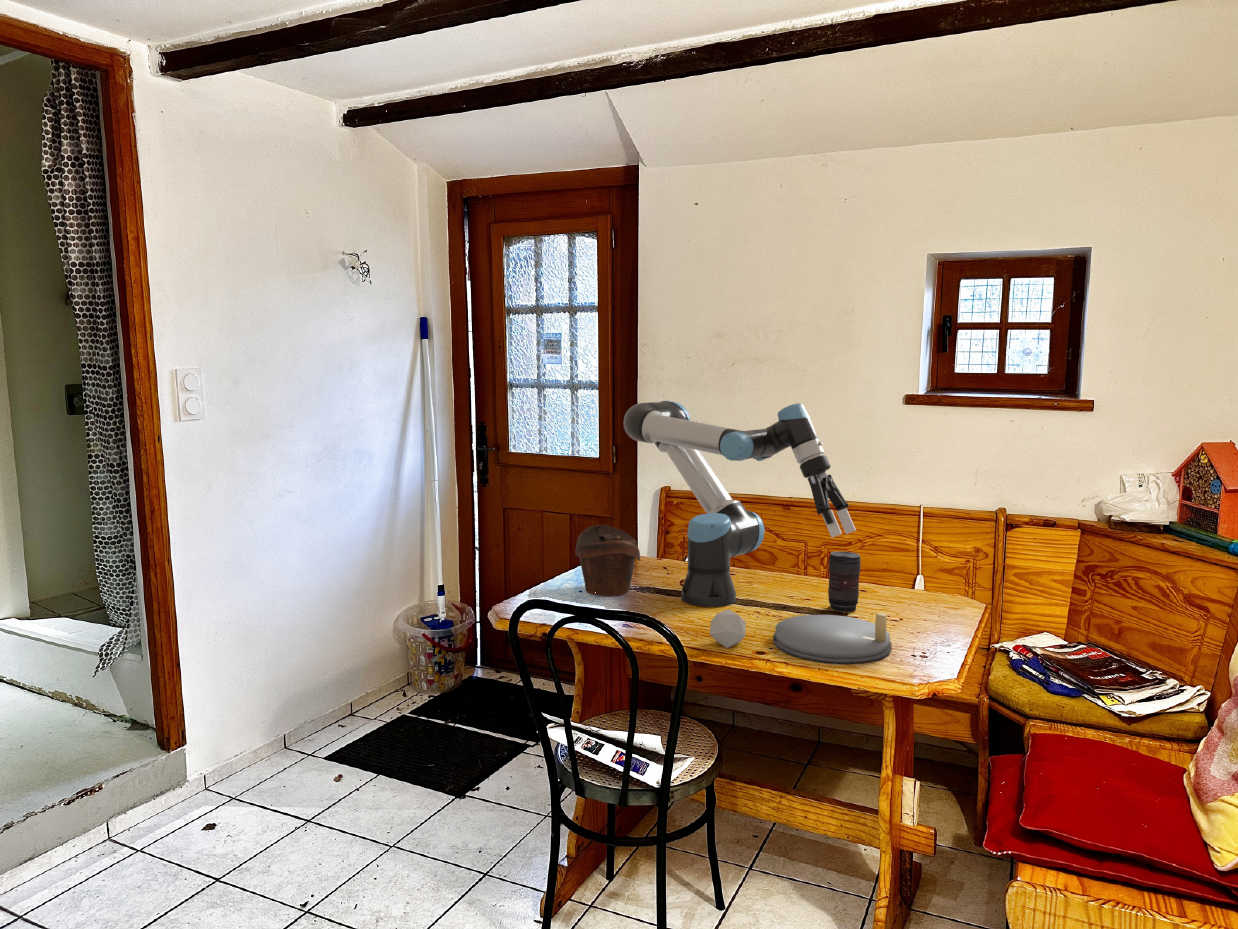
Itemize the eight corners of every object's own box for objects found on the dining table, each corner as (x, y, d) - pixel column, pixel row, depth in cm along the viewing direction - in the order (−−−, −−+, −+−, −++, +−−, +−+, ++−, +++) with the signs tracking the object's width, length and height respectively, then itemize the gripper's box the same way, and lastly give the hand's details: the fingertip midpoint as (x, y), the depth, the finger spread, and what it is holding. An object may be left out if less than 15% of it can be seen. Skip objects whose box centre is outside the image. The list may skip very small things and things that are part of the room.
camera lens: (860, 614, 224) (861, 558, 222) (828, 612, 226) (829, 556, 224) (857, 605, 232) (859, 551, 230) (827, 603, 233) (828, 550, 232)
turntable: (756, 644, 197) (757, 610, 196) (801, 616, 218) (802, 585, 217) (866, 667, 182) (868, 631, 181) (904, 635, 204) (905, 602, 203)
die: (724, 638, 207) (702, 610, 204) (754, 625, 204) (733, 596, 201) (722, 660, 200) (699, 632, 197) (753, 647, 196) (731, 618, 194)
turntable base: (753, 648, 197) (753, 644, 197) (800, 619, 219) (800, 615, 219) (868, 673, 182) (868, 668, 182) (906, 639, 204) (906, 635, 204)
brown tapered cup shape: (621, 604, 234) (621, 539, 231) (562, 593, 244) (561, 532, 242) (653, 588, 249) (653, 528, 246) (596, 579, 259) (595, 521, 257)
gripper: (810, 452, 214) (844, 531, 209) (837, 454, 235) (869, 525, 231) (783, 464, 217) (816, 542, 213) (813, 465, 239) (844, 536, 234)
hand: (844, 534), depth 222 cm, fingers open, 13 cm apart
